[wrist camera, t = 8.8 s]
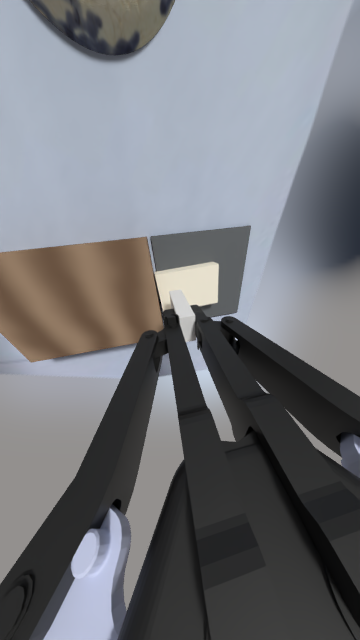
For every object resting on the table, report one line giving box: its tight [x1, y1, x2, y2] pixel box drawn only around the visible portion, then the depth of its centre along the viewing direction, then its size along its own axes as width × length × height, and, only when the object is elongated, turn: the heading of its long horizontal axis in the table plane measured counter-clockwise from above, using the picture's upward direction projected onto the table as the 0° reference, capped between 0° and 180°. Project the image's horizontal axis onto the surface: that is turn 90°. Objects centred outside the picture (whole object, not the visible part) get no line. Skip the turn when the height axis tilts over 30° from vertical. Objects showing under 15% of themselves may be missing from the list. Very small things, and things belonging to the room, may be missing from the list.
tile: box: [155, 262, 219, 311], centre depth 21 cm, size 9×6×2 cm, turn 97°
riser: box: [0, 237, 164, 362], centre depth 19 cm, size 20×14×4 cm
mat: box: [151, 226, 251, 317], centre depth 22 cm, size 14×14×1 cm
